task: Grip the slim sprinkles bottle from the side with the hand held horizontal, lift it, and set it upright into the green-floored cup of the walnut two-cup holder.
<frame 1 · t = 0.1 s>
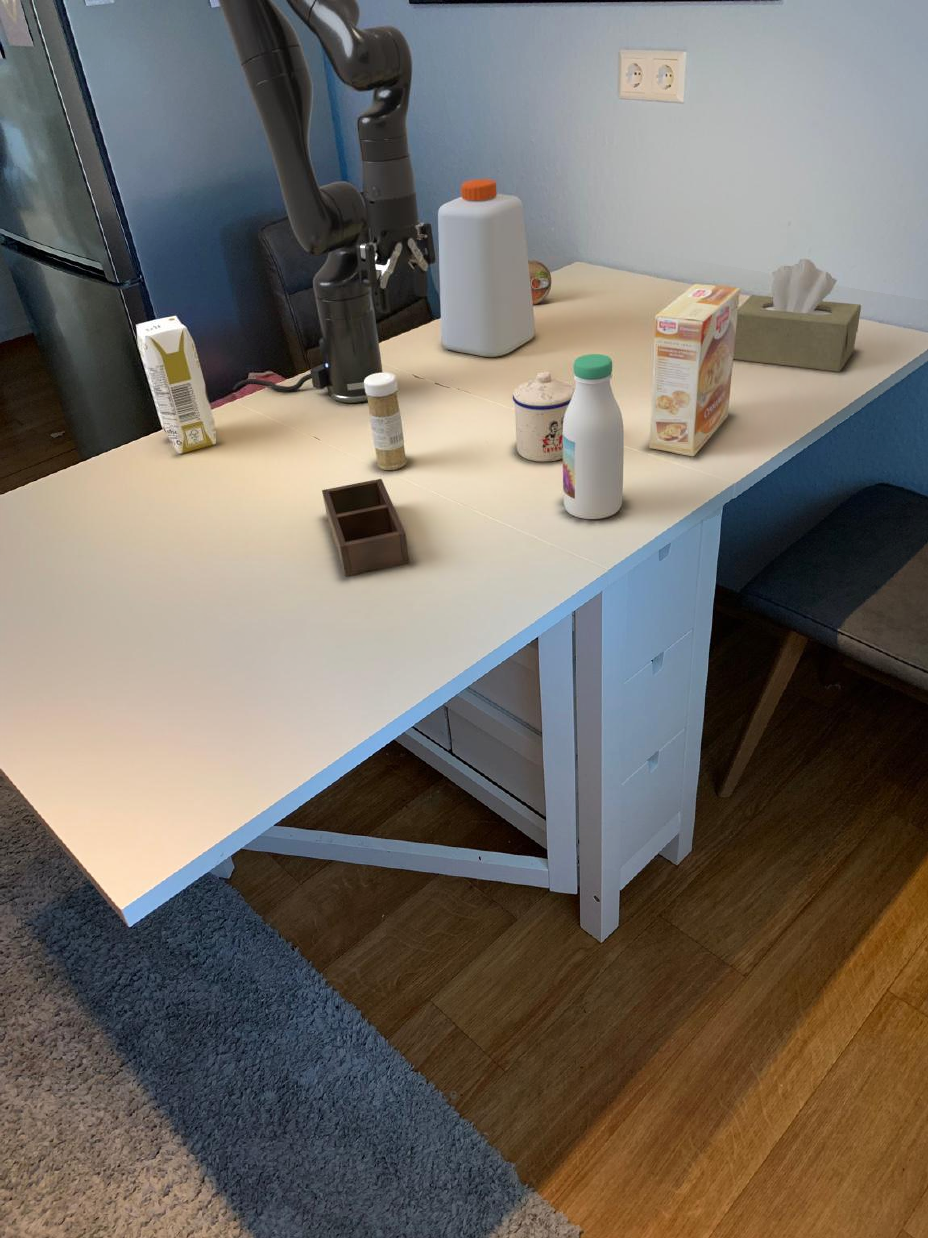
hand: (402, 303, 144), 17 cm above the table, tool pointing down, fingers open, 8 cm apart
milk bottle: (592, 507, 123), on the table
coffeecake box: (689, 433, 139), on the table
teacup with lid: (552, 447, 139), on the table
tissue box: (790, 356, 159), on the table
juice carton: (193, 442, 150), on the table
plastic bottle: (489, 343, 176), on the table
tin: (516, 303, 194), on the table
holder: (366, 539, 121), on the table
sprinkles bottle: (392, 465, 138), on the table
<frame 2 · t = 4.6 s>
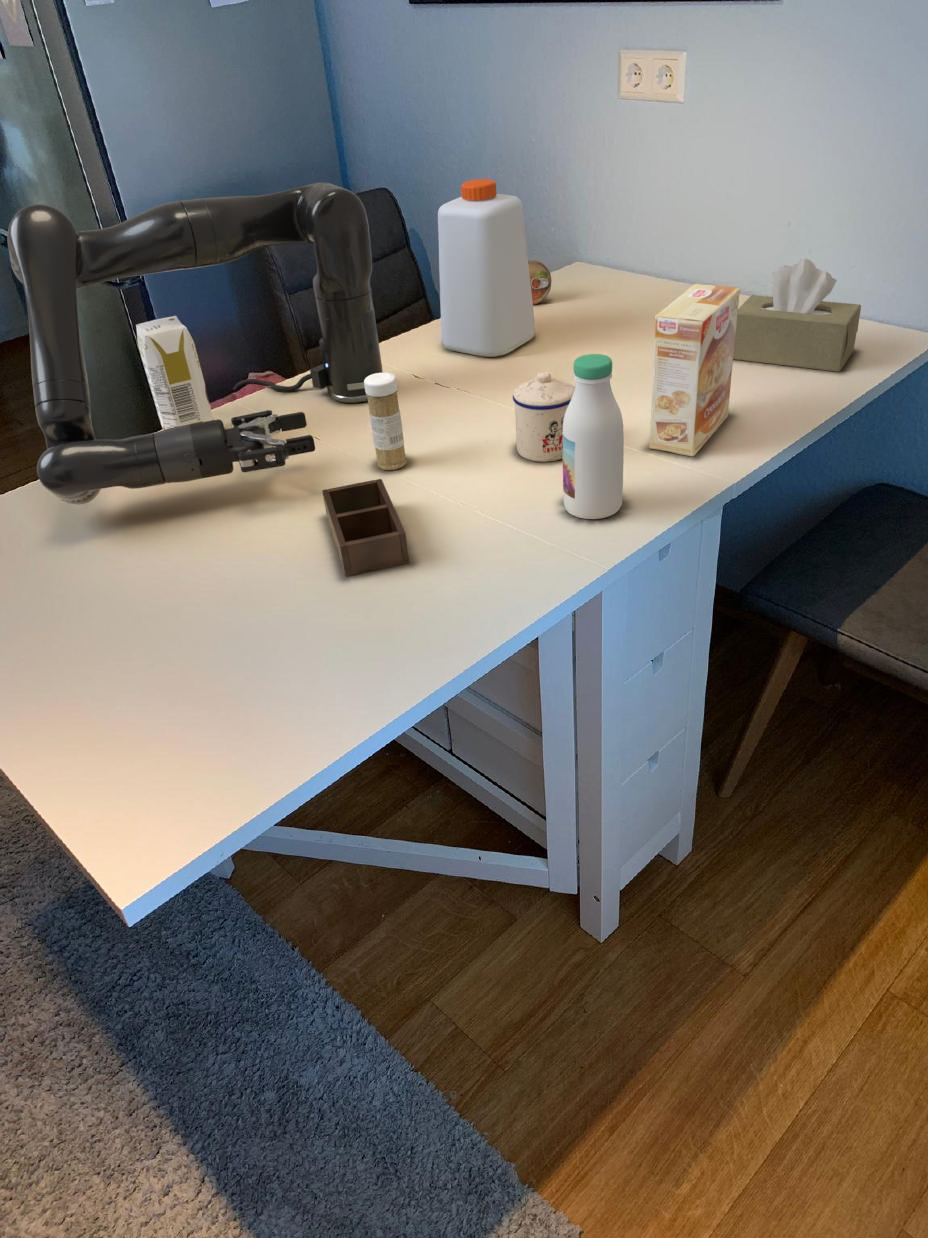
hand: (309, 430, 132), 8 cm above the table, tool horizontal, fingers open, 8 cm apart
nothing on the table moved.
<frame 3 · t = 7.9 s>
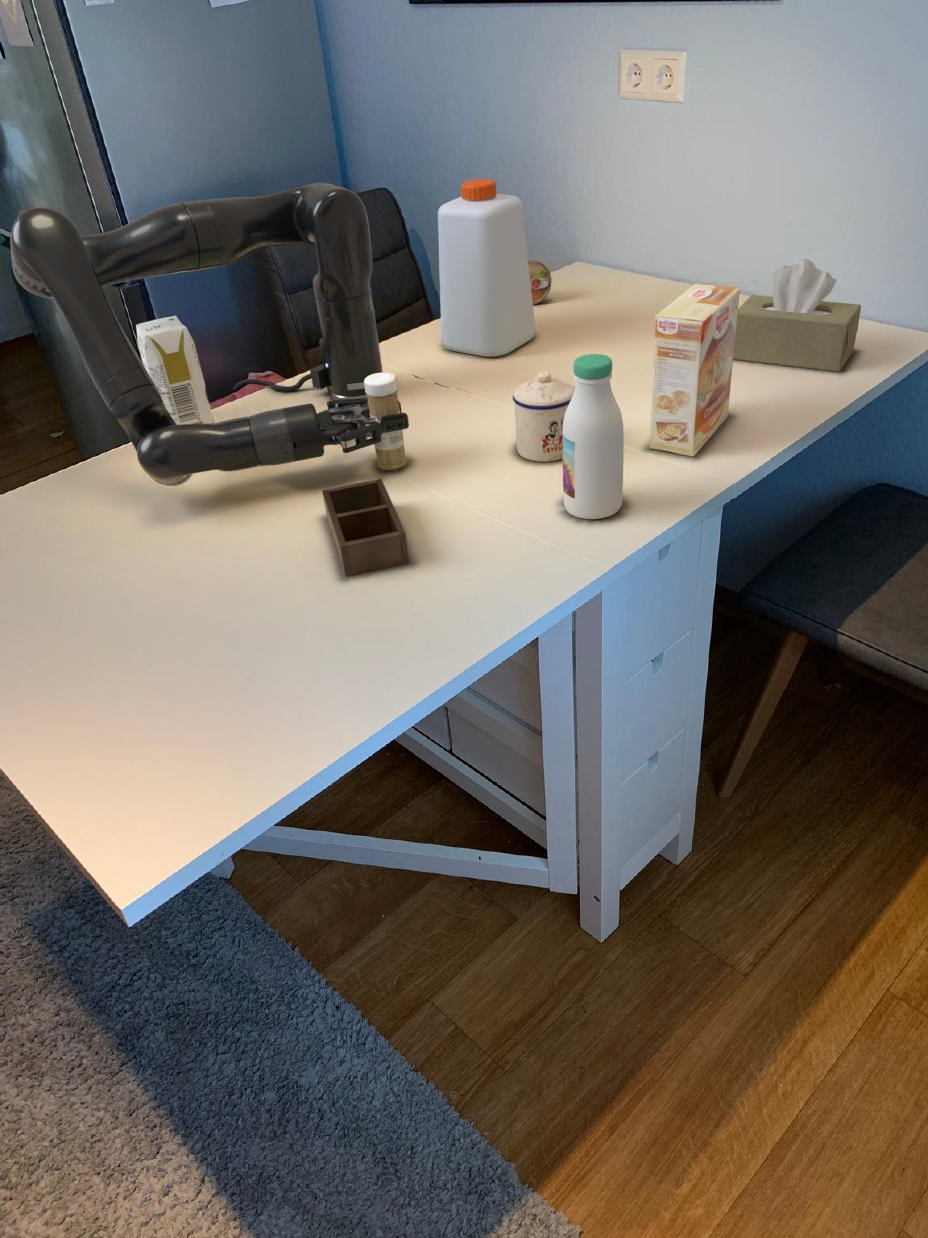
hand: (403, 413, 134), 8 cm above the table, tool horizontal, fingers closed on sprinkles bottle, 4 cm apart
sprinkles bottle: (392, 465, 138), on the table, touching gripper
everything else where it was.
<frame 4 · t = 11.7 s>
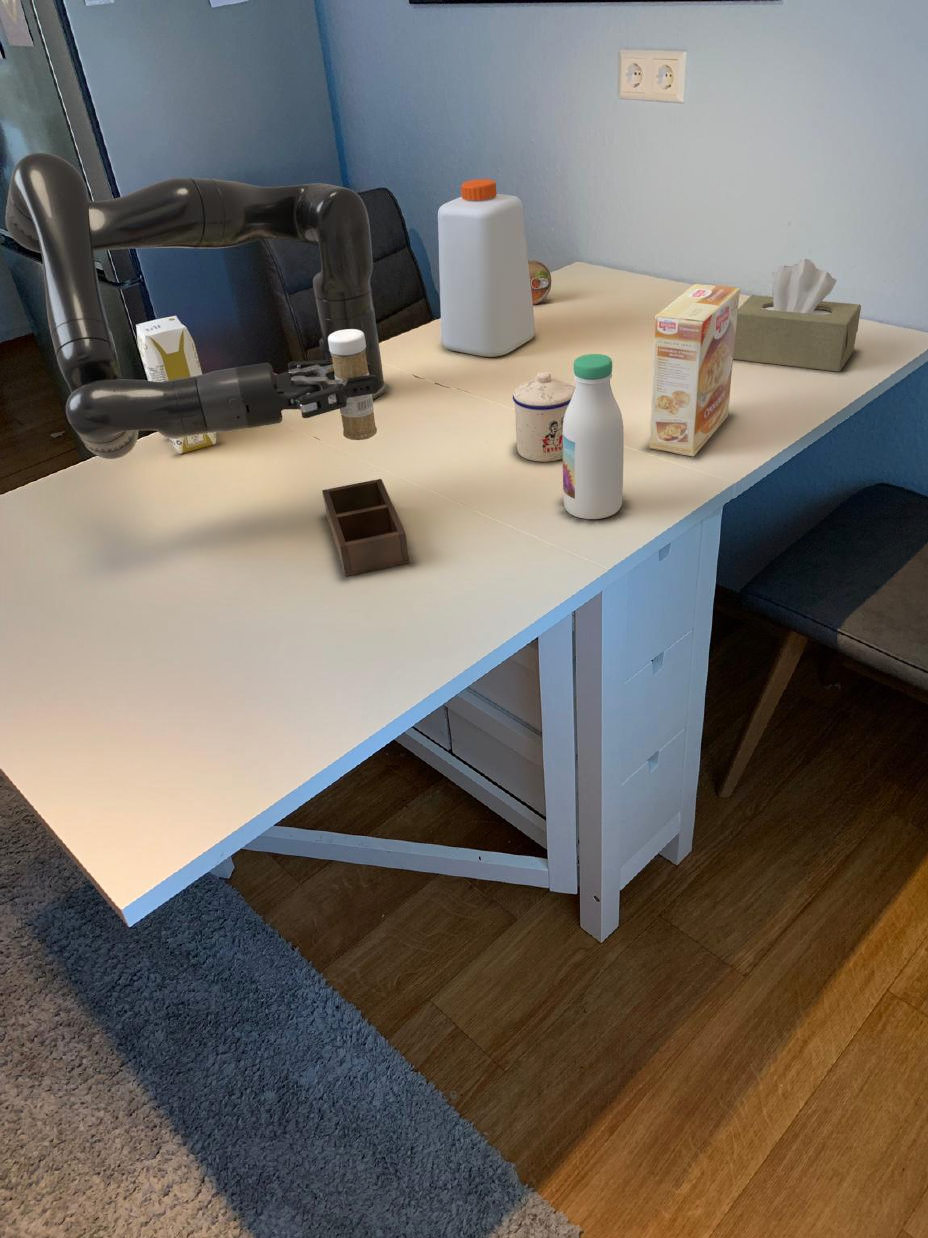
hand: (373, 376, 119), 18 cm above the table, tool horizontal, fingers closed on sprinkles bottle, 4 cm apart
sprinkles bottle: (360, 435, 123), point 10 cm above the table, touching gripper
everything else where it was.
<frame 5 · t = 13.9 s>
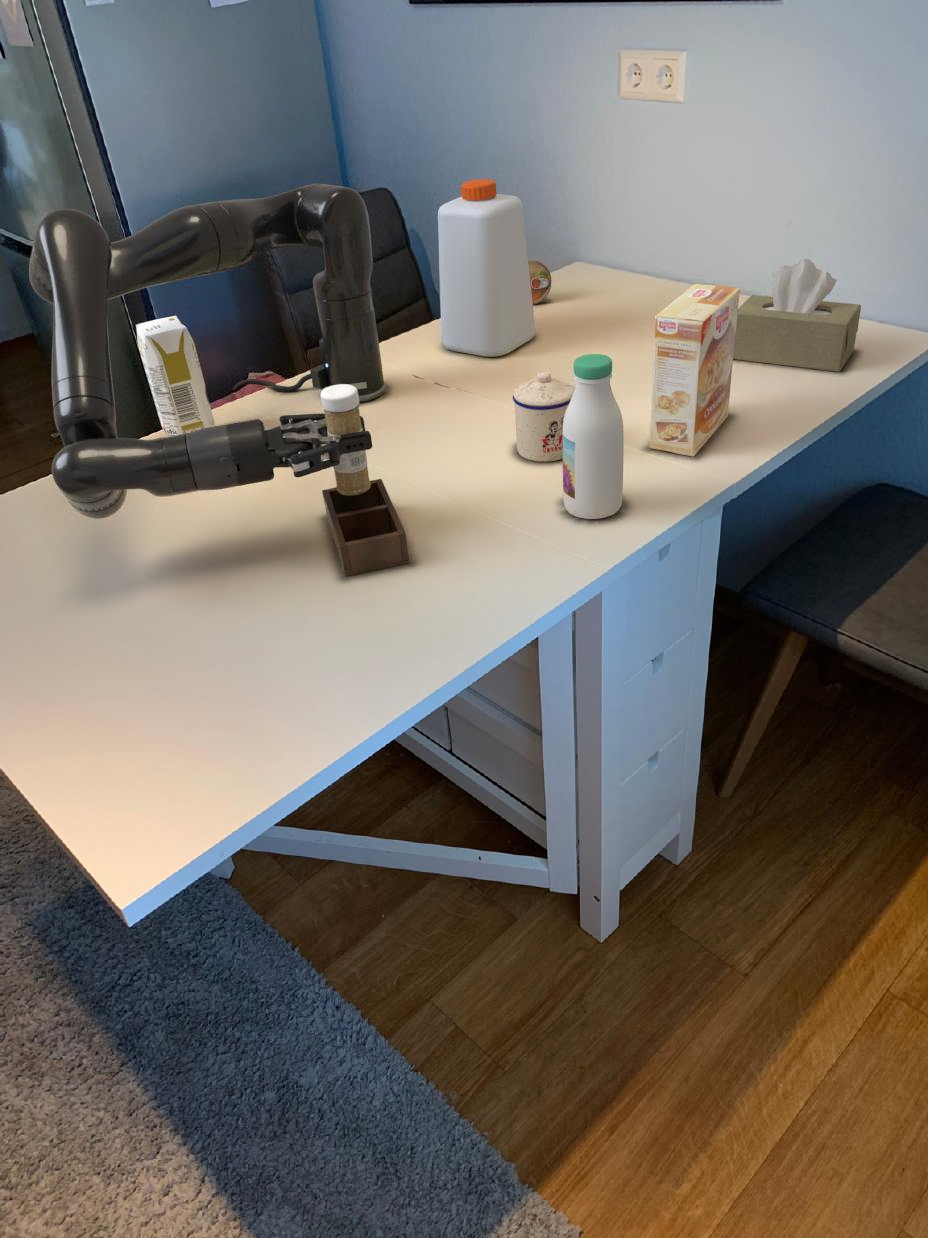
hand: (366, 431, 116), 13 cm above the table, tool horizontal, fingers closed on sprinkles bottle, 4 cm apart
sprinkles bottle: (353, 490, 121), point 5 cm above the table, touching gripper
everything else where it was.
when the fingers open (8 cm above the table, at t = 15.6 s): sprinkles bottle stays where it is, resting on holder.
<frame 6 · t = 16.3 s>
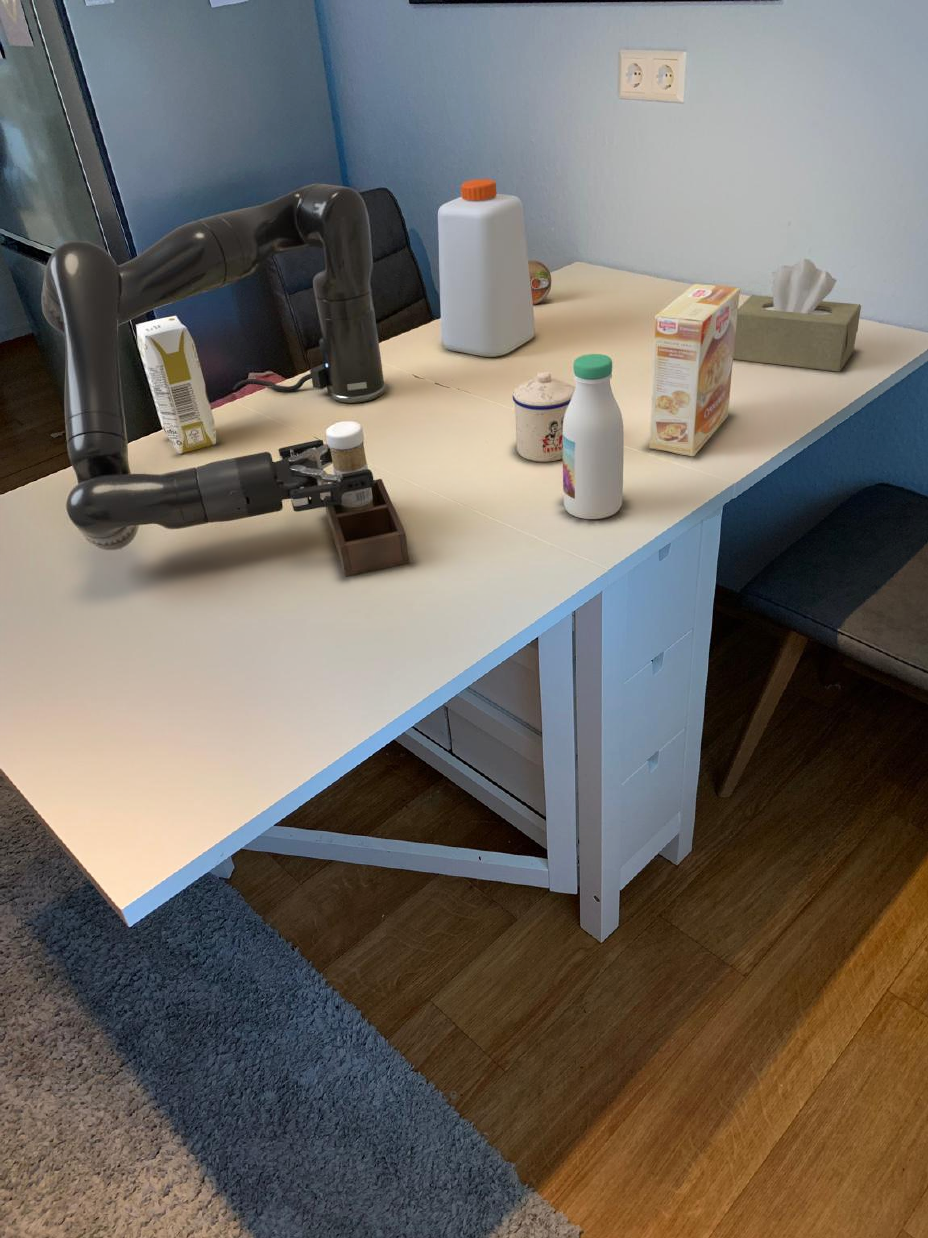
hand: (366, 463, 119), 9 cm above the table, tool horizontal, fingers open, 8 cm apart
sprinkles bottle: (359, 522, 123), point 1 cm above the table, touching holder
everything else where it was.
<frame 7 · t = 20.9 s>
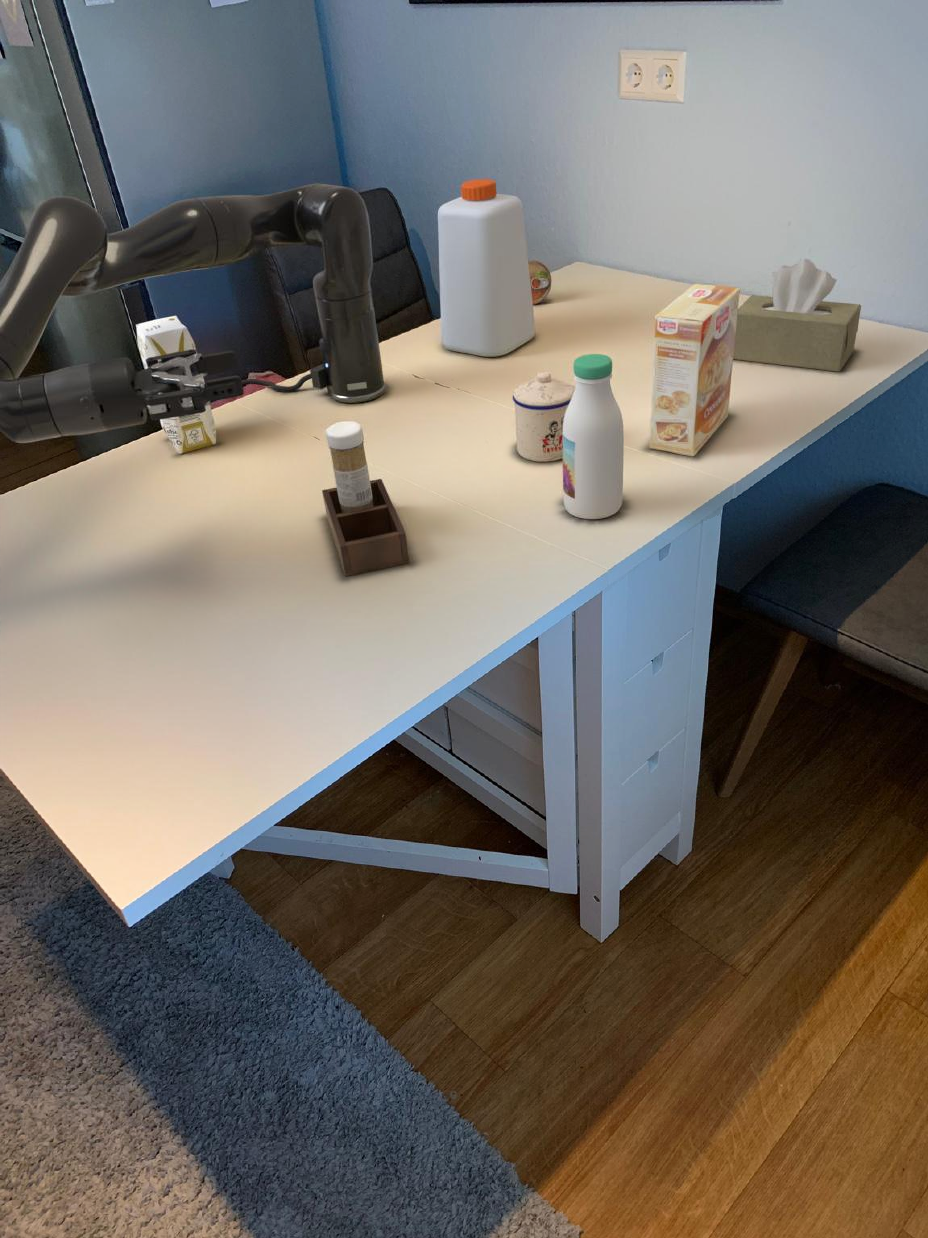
hand: (239, 371, 108), 23 cm above the table, tool horizontal, fingers open, 8 cm apart
nothing on the table moved.
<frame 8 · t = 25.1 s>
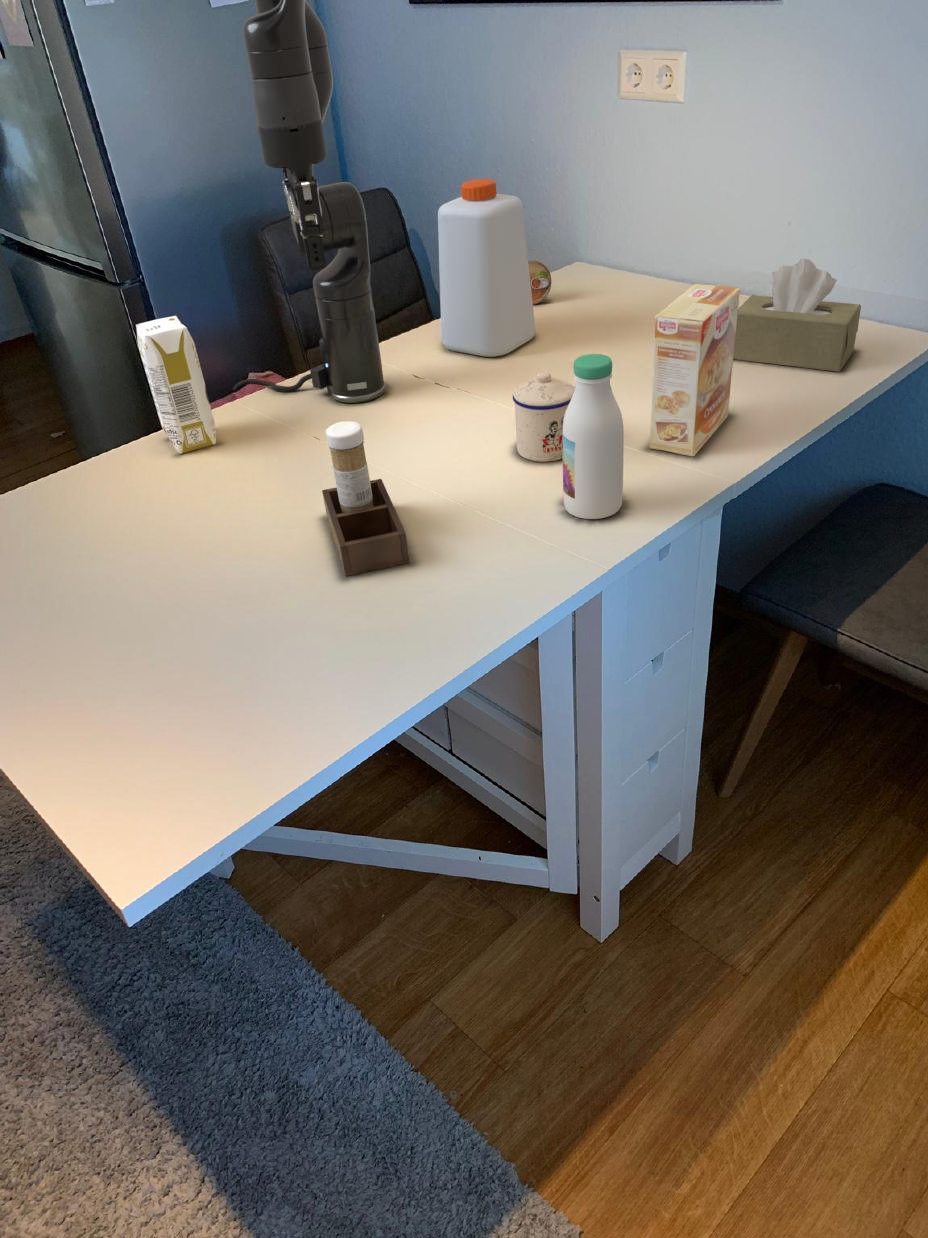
hand: (313, 260, 119), 30 cm above the table, tool pointing down, fingers open, 8 cm apart
nothing on the table moved.
at the end: sprinkles bottle 0.2 cm from the target spot in the holder, point 0.5 cm above the holder's base; sprinkles bottle tilted 0°; the gripper is holding nothing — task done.
